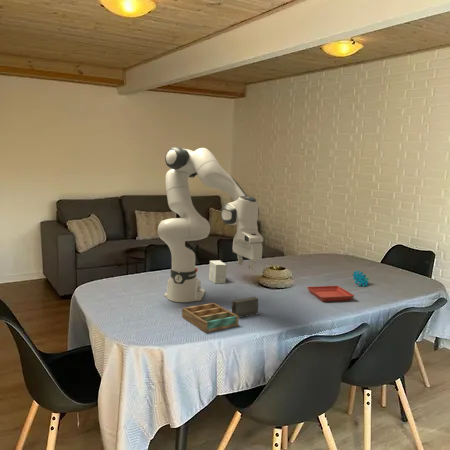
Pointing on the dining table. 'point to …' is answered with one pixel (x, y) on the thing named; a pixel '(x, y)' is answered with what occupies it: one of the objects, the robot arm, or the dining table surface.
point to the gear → (360, 278)
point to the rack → (210, 317)
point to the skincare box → (217, 271)
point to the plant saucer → (330, 293)
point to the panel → (245, 306)
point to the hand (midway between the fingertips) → (245, 266)
